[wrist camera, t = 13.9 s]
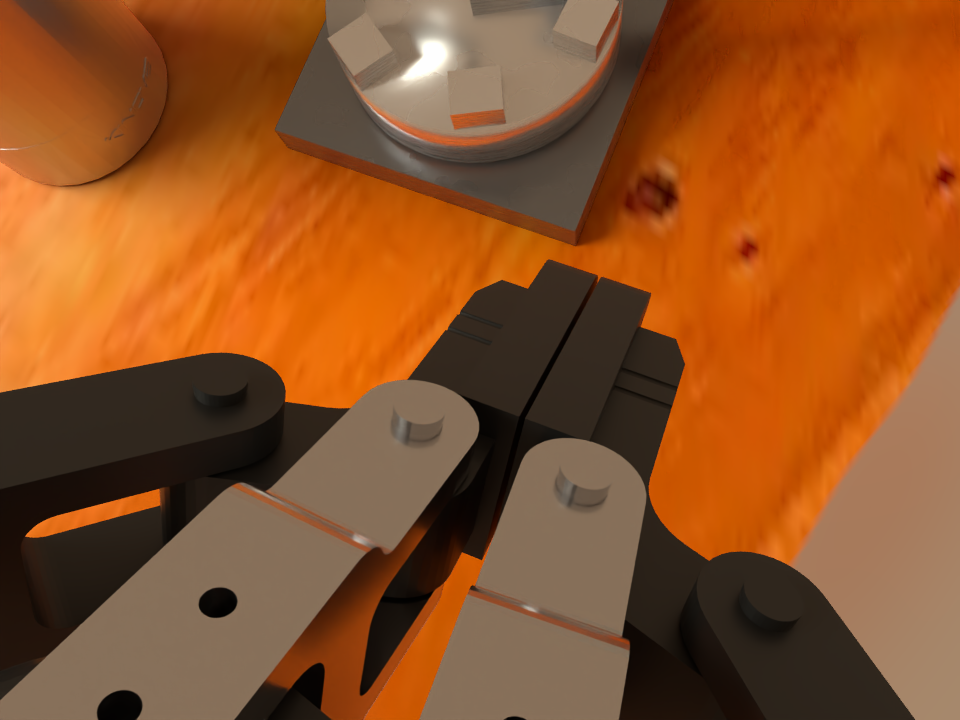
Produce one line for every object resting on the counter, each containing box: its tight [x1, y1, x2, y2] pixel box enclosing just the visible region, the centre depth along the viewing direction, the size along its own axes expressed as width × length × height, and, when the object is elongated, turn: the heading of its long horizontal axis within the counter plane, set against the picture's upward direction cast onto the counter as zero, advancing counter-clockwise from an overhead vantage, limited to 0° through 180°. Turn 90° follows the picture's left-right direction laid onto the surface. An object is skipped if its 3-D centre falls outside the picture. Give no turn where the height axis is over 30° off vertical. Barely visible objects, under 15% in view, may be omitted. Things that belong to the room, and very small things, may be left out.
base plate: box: [275, 0, 674, 246], centre depth 39 cm, size 14×14×2 cm
